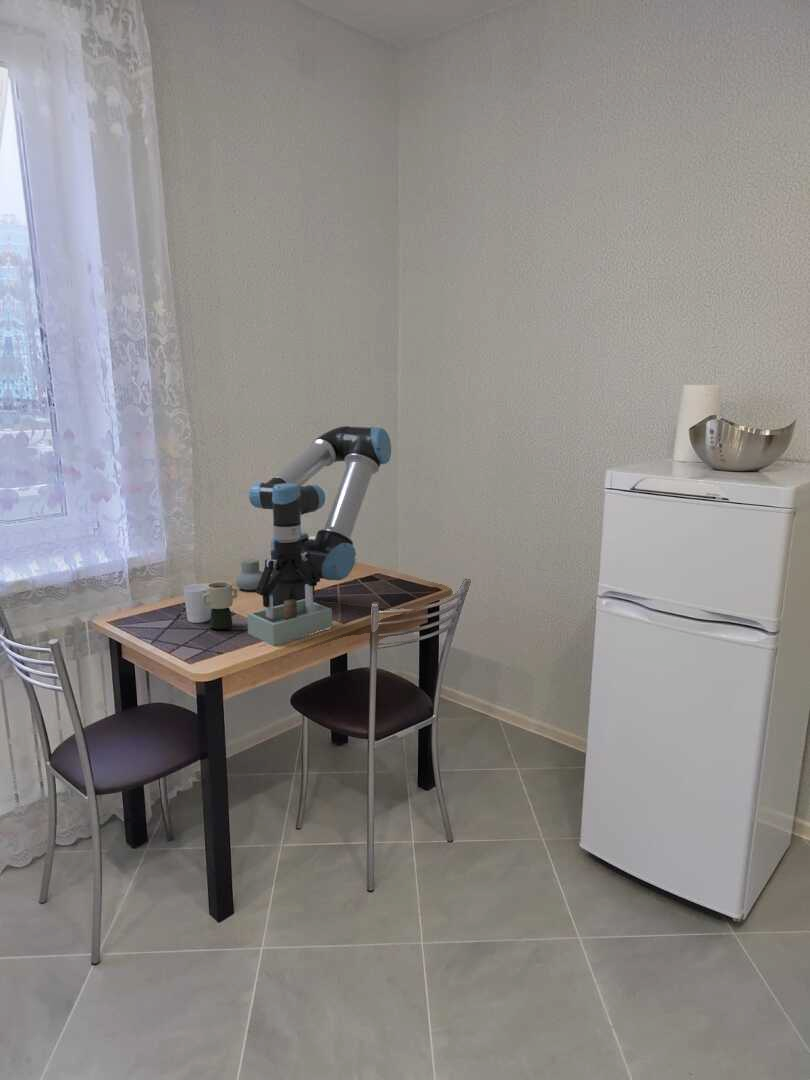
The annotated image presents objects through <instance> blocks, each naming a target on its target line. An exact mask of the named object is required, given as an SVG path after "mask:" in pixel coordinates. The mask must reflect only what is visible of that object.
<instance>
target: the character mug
mask: <svg viewBox="0 0 810 1080" xmlns="http://www.w3.org/2000/svg"><path fill="white" fill-rule="evenodd" d="M207 584H208V585H207V593H206V594H203V595H202V603H203V605H207V604H208V606H209V607H210V608H211V619H210V620H209V621H210V622H209V623H210V626H209V627H210V628H213V629H216V630H225V629H226V630H227V629H229V628H231V627H233V618H232V613H231V609H230V608H231V607H233V602H234V599H237V598H238V589H237V587H234V586H233V583H231V582H230V581H214V582H210V583H207ZM206 597H207V601H206Z"/></svg>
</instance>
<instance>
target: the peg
mask: <svg viewBox="0 0 810 1080" xmlns="http://www.w3.org/2000/svg"><path fill="white" fill-rule="evenodd" d="M284 615H285V620H288V619H292V618H295V617H297V601H296V600H293V599H290V600H285V601H284Z"/></svg>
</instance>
